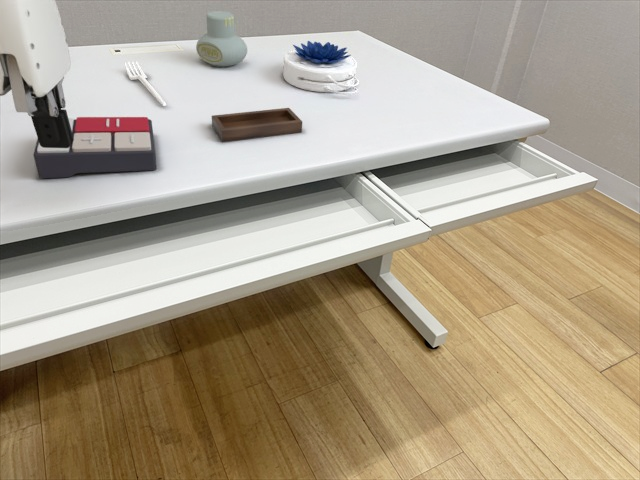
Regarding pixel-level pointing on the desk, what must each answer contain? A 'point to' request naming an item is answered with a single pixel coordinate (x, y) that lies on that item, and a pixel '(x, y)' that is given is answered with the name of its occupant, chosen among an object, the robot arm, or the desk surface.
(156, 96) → the fork
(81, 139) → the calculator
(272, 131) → the pen tray
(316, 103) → the desk surface
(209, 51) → the air freshener
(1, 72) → the robot arm
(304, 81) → the box with blue lotus
